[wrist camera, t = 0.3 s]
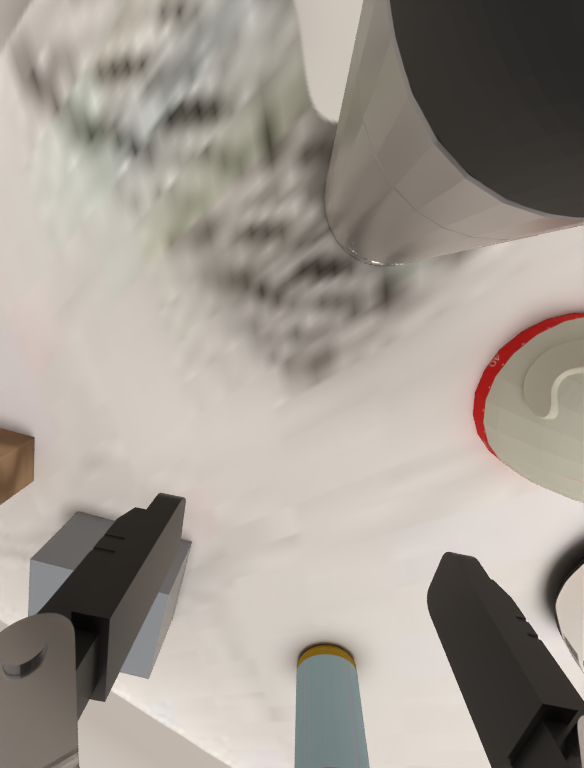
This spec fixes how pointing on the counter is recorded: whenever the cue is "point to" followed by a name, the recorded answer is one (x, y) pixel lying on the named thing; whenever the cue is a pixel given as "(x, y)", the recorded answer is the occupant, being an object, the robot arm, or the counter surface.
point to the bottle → (328, 711)
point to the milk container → (572, 612)
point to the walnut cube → (15, 463)
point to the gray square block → (68, 553)
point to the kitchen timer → (538, 405)
